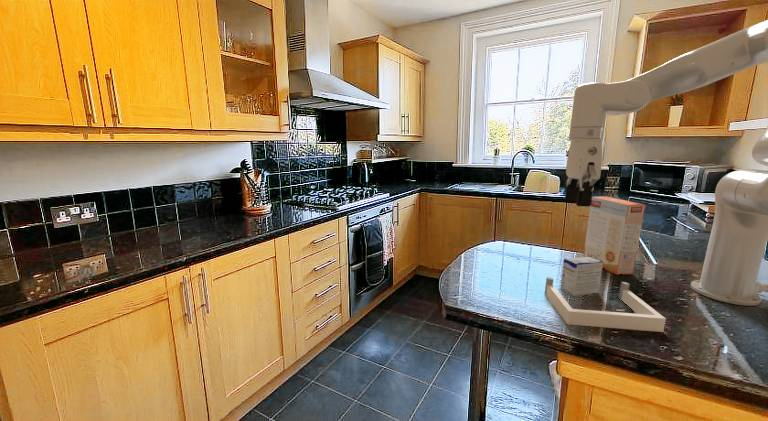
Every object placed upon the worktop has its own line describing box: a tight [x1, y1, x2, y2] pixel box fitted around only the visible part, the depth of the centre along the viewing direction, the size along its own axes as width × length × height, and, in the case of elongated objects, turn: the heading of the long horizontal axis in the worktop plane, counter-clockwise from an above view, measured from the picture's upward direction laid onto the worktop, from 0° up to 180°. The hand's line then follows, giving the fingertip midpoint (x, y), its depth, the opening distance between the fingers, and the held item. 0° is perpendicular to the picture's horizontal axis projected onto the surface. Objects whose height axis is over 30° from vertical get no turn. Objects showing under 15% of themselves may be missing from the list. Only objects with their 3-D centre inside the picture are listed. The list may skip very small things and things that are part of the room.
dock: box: [544, 276, 667, 333], centre depth 75 cm, size 18×14×4 cm
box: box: [560, 256, 603, 297], centre depth 85 cm, size 8×4×9 cm, turn 104°
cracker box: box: [582, 195, 647, 276], centre depth 100 cm, size 14×6×21 cm, turn 6°
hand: (576, 202), depth 89 cm, fingers open, 6 cm apart
